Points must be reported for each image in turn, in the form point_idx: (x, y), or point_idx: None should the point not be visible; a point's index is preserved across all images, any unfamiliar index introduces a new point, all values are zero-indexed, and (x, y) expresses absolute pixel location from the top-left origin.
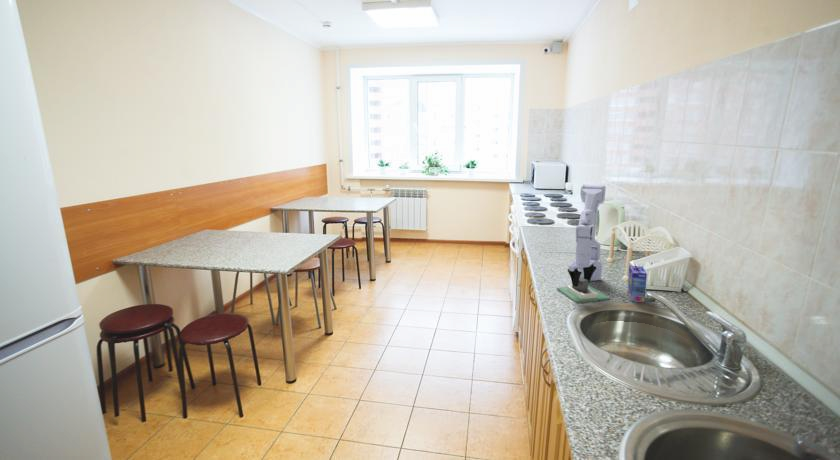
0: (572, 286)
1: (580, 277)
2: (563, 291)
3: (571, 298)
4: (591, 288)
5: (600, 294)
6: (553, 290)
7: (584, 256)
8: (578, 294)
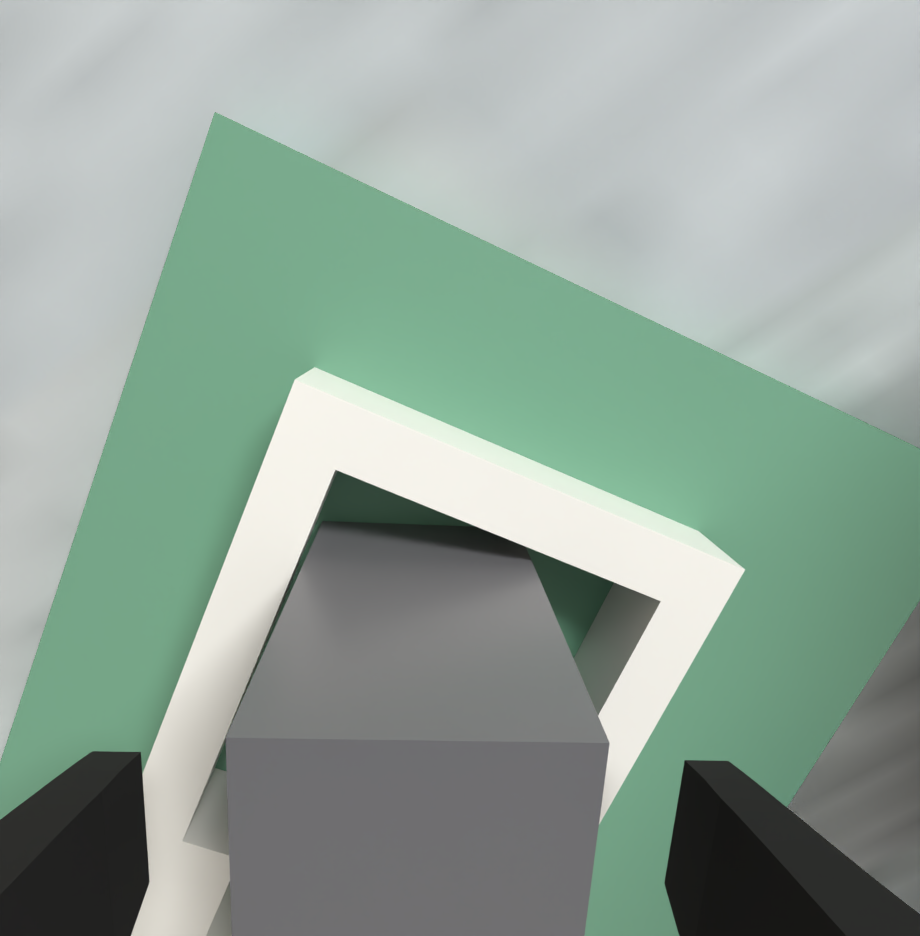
0: (296, 582)
1: (582, 853)
2: (155, 395)
3: (19, 719)
4: (824, 656)
5: (646, 911)
6: (105, 105)
7: None
8: None
